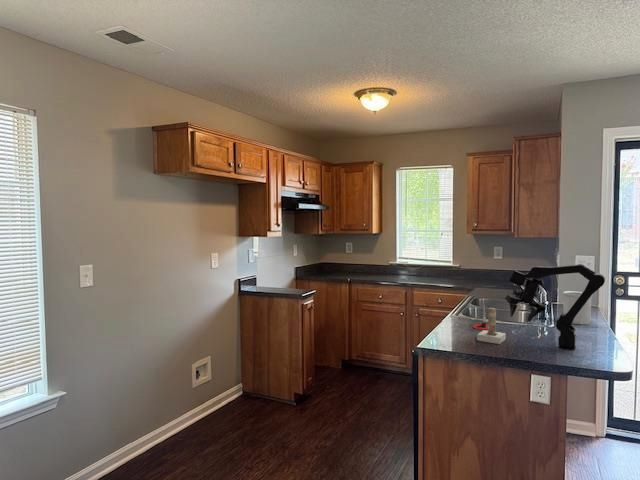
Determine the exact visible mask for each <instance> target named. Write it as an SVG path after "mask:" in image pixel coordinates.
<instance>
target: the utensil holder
mask: <svg viewBox="0 0 640 480" xmlns="http://www.w3.org/2000/svg"><path fill="white" fill-rule="evenodd" d="M582 293H583V291H573V290H571V291H570V290H568V291H563V293H562V294H563V295H562V296H563V312H562V313H564V314H566V313H567V312H568V311H569V310H570V309H571V307H572V306H573V305H574V303H575V302H576V301H577V299H578V298H579V297H580V295H581V294H582ZM592 297H593V294H592V295H591V297H590V298H589V299H588V301H587V302H586V303H585V305H584V306H583V307H582V308H581V310H580V311H579V312H578V314H577V315H576V316H575V318H574V320H573V322H572V324H573V325H574V324H575V325H590V322H591V313H592Z"/></svg>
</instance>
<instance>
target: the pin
mask: <svg viewBox="0 0 640 480" xmlns="http://www.w3.org/2000/svg"><path fill="white" fill-rule="evenodd" d="M496 317H497V308H496V307H495V308H494V307H488V313H487V318H488V319H487V325H488V330H487V331H488V335H493V336H495V334H496V332H497V331H496V327H497V326H496V325H497V323H496V322H497V318H496Z"/></svg>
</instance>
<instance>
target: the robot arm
mask: <svg viewBox="0 0 640 480" xmlns="http://www.w3.org/2000/svg"><path fill="white" fill-rule="evenodd" d="M566 274H580V275H582V277H583V278H585V279H587V280H588V283H587V285H586V286H585V289H584V290H583V291H582V292H583V293H582V294H581V295H580V297H579V298H578V299H577V301H576V302H575V303H574V305H573V306H572V307H571V309H570V310H569V311H568V312H567V313H566V314H564V313H563V312H562V313H561V314H560V316H559V317H558V318H557V319H556V320H555V322H556V323H555V327H556V329H557V331H558V332H560V334H559V336H558V347H559V348H561V349H567V350H575V349H576V348H577V345H576V341H577V340H576V337H577V336H576V334H575V332H576V330H577V329H576V328H575V327H574V326H573V325H572V324H573V323H572V322H573V320H574V318H575V316H576V315H577V314H578V312H579V311H580V310H581V308H582V307H583V306H584V305H585V303H586V302H587V301H588V299H589V298H590V297H591V295H592V296H593V294H594V293H596V292H597V291H599V289H600V288H602V287H603V286H604V284H605V282H606V277H605V276H604V274H602V273H597V272H595V271H593V270H592V269H591V268H589V267H587V266H586V265H584V264H582V263H579V264H572V265H559V266H544V265H536V266H534V267H532V268H530V271H529V272H526V273H523V272H521V271H518V270H514V271H513V273H512V274H511V276H510V278H509V284H512V285H515V286H517V287H518V286H519V287H523V286H524V288H523V289H521V291H520V289H517V288H514V289H513V291H512V294H507V295H505V301H507V303H508V304H509V312H510V314H509V315H510V317H513V316H514V314H515V312H516V310H517V307H518V305H517V304H521V305H524V306H528V307H530V308H531V309H530V312H529V314H528V317H527V321H528V322H530V321H531V320H532V319H533V318H535V317H536V316H537V315H538V314H540V313H544V312H545V311H546V310H547V309H546V307H547V306H546V305H544V304H543V303H542V302H539V301H534V300H535V298H537V296H538V295H537V291H538V289H539V287H540V285H541V286H545V282H544V281H543V279H541V278H545V277H549V276H554V275H566ZM532 278H533V279H532ZM539 279H540V280H539ZM591 298H592V297H591Z"/></svg>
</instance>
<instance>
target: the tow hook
mask: <svg viewBox="0 0 640 480" xmlns="http://www.w3.org/2000/svg"><path fill="white" fill-rule="evenodd" d="M482 306H483V307H482V322H481V323H477V324H474V325H473V327H472V328H473V329H474V328H475V329H474V330H478V329H480V331H483V330H486V331H488V321H486V305H485V304H483V305H482ZM482 326H483V327H482Z"/></svg>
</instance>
